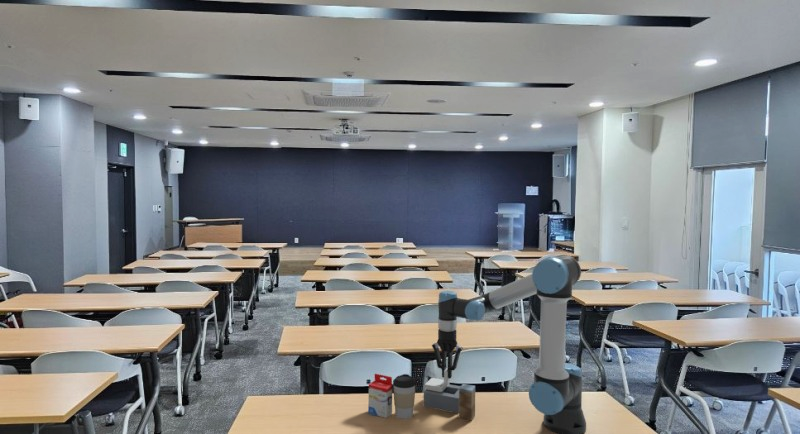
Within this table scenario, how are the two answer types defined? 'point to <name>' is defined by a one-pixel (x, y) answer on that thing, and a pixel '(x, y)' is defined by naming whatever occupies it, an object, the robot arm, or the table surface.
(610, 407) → the table surface
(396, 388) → the coffee cup
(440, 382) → the lid
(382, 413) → the ink box
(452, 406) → the socket block
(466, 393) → the plug
